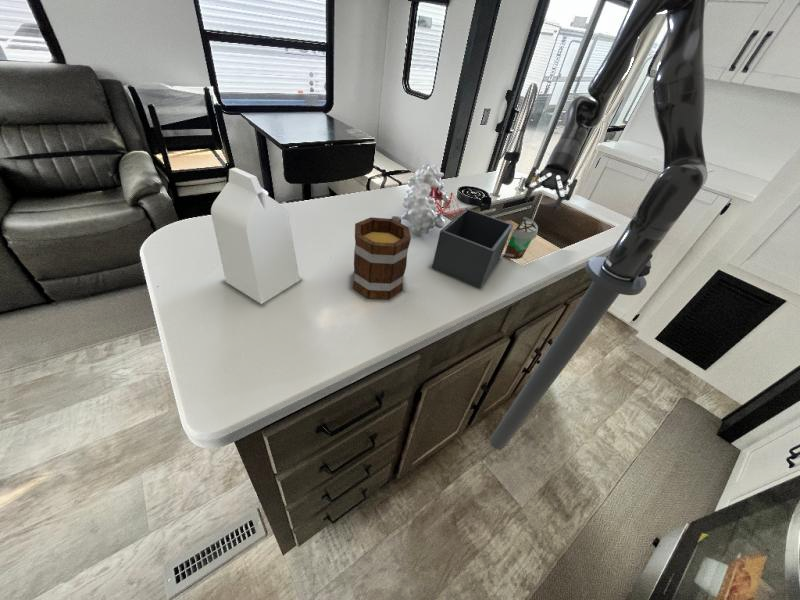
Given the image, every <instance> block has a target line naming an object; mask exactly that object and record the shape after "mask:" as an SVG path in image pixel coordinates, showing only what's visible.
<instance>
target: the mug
mask: <svg viewBox="0 0 800 600" xmlns="http://www.w3.org/2000/svg"><path fill="white" fill-rule="evenodd" d="M411 241H412V236H411V232H410V228H409V226H407V225H405V224H403V223H402V218H401V217H400V216H397V215H393V216H391V218H383V217H371V216H370V217H368V218H366V219H363V220H360V221H358V222H355V223H354V243H355V244H354V250H353V254H354V255H353V275H352V277H353V278H352V289H353V290H354V291H356V292H357V293H359V295H361V296H363V297H365V298H366V299H368V300H390V299H392V298H394V297H395V296H396V295H398V294H399V293H401V292H402V291H403V287H404V285H403V283H404V277H405V272H406V269H407V260H408V251H409V248H410V247H409V246H410V244H411Z"/></svg>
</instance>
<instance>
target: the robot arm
mask: <svg viewBox="0 0 800 600" xmlns="http://www.w3.org/2000/svg"><path fill="white" fill-rule="evenodd" d="M705 8H706V0H631V2H630V5H629V7H628V9H627V11H626V13H625V15H624V18H623V20H622V22H621V24H620V27H619V29H618V31H617V34H616V36H615V38H614V40H613V42H612V44H611V47H610V49H609V50H608V52H607V54H606V56H605V57H604V60H603V61H602V63H601V65H600V66H599V68H598V69H597V71H596V73H595V75H594V76H593V78H592V79H591V81H590V82H589V84H588V87H587V92H588V95H589V96H590V97H588V96H585V95H579V96H576V97H575V98H573V100H572V101H571V102H570V103H569V106H568V107H567V112H566V117H565V122H564V123H565V124H564V128H563V131H562V133H561V135H560V138H559V140H558V141H557V143H556V144H555V146H554V148H553V149H552V151H551V153H550V156H549V157H548V160H547V162H546V163H545V166H544V167H543V169H542V170H540V169H538V168H537V167H536V166H533V167H532V168H531V170H530V172H529V174H528V175H527V178H526V179H525V181H524V185H523V187H524V188H526V189H527V190H526V193H525V194H524V200H525V202H528V201H529V199H530V198H531V196H532V194H533V191H534V190H536V189H539V188H541V187H543V188H544V189H549V190H551V191H554V190H555V193H556V195H557V199H556V201H555V203H554V205H553V207H552V209H551V211H556V210H558V209H559V208H560V206H561V204H562V202H563V201H567V202H569V201H570V200H571V198H572V196H573V193H574V191H575V189H576V186H577V184H578V179H577V178H574V179H570V178H569V175H570V173H571V171H572V170H573V167H574V165H575V164H576V162H577V160H578V157H579V155H580V152H581V149H582V148H583V145H584V143H585V141H586V139H587V136H588V128H589V129H591V128H595V127H597V125H599V124H600V123H601V121H602V120H603V118H604V115H605V113H606V110H607V107H608V104H609V102H610V100H611V98H612V96H613V94H614V92H615V91H616V90H617V89H618V87H619V85H620V84H621V82H622V81H623V80H624V78H625V77H626V75H627V74H628V72H629V70H630V68H631V66H632V63H633V61H634V56H635V52H636V46H637V44H638V42H639V39H640V38H641V36H642V34H643V32H644V31H645V30H646V29H647V27H648V26H649V24H650V23H651V22H652V21H653V20H654V18H655V17H656V16H657V15H660V14H665V17H666V28H667V29H666V30H667V33H666V34H667V37H666V44H665V48H664V51H663V52H662V55H661V58H660V60H659V63H658V65H657V68H656V70H655V73H654V76H653V80H652V101H653V113H654V117H655V122H656V125H657V128H658V131H659V134H660V136H661V140H662V143H663V167H662V168H663V169H662V171H661V173H660V174H659V175H658V176H657V178H656V179H655V180H654V182H653V183H652V185H651V187H650V188H649V189H648V192H647V193H646V194H645V196H644V197H643V199H642V201H641V202H640V204H639V206H638V209H637V210H636V212H635V214H634V215H633V217H632V218H631V220H630V221H629V223H628V224H627V226H626V227H625V229H624V230H623V232H622V233H621V235H620V237H619V238H618V240H617V241H616V243H615V244H614V246H613V247H612V249H611V251H610V252H609V253H608V255H607V257H606V259H605V261H604V262H603V264H602V265H601V269H602V270H603V271H604V272H605V273H606V274H607V275H609V276H611V277H613V278H615V279H617V280H621V281H629V282H632V283H633V282H634V280H635V279H636V278H637V276H638V277H642V276H643V277H646V276H648V275H649V274H650V273H651V269H652V262H651V259H652V258H653V253H654V252H655V250H656V249H657V247H658V246H659V245H660V243H662V241H663V240H664V238H665V237H666V236H667V234H668V233H669V232H670V231H671V230H672V228H673V227H674V225H675V224H676V223H677V222H678V219H680V217H681V216H682V214H683V213H684V212H685V211H686V209H687V208H688V206H690V204H691V203H692V201H693V200H694V199H695V197H696V196H697V195H698V193H700V191H701V189H702V188H703V187H704V186H705V184H706V183H707V180H708V175H709V174H708V173H709V172H708V167H707V163H706V157H705V150H704V143H703V125H704V114H705V95H706V94H705V93H706V89H705V88H706V85H705V84H706V83H705V81H706V80H705V77H706V76H705V61H704V60H705V59H704V58H705V57H704V46H705V45H704V44H705V43H704V41H705V40H704V26H705V25H704V23H705V10H706V9H705ZM538 176H539V178H538V179H536V180H535V181H534V182H532V180H533V179H534V178H536V177H538ZM531 182H532V183H531ZM566 184H567V187H568V188H569V189H568V192H567V193H565V190H564V186H565V185H566Z"/></svg>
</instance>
